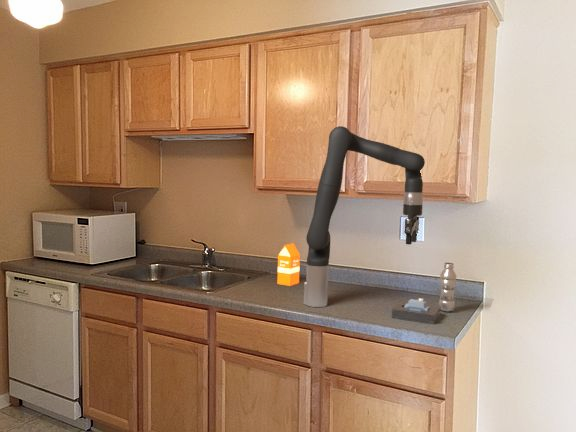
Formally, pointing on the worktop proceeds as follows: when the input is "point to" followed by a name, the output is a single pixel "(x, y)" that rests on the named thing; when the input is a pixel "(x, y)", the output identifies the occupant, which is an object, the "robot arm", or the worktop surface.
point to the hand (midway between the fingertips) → (411, 243)
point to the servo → (417, 305)
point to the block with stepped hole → (416, 313)
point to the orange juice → (288, 265)
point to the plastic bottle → (447, 288)
